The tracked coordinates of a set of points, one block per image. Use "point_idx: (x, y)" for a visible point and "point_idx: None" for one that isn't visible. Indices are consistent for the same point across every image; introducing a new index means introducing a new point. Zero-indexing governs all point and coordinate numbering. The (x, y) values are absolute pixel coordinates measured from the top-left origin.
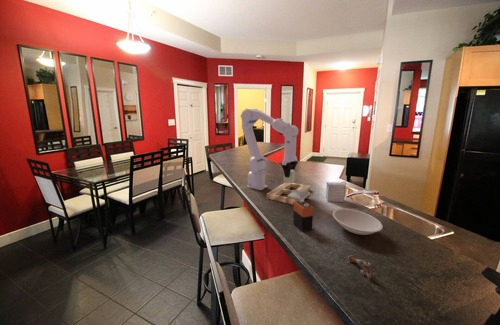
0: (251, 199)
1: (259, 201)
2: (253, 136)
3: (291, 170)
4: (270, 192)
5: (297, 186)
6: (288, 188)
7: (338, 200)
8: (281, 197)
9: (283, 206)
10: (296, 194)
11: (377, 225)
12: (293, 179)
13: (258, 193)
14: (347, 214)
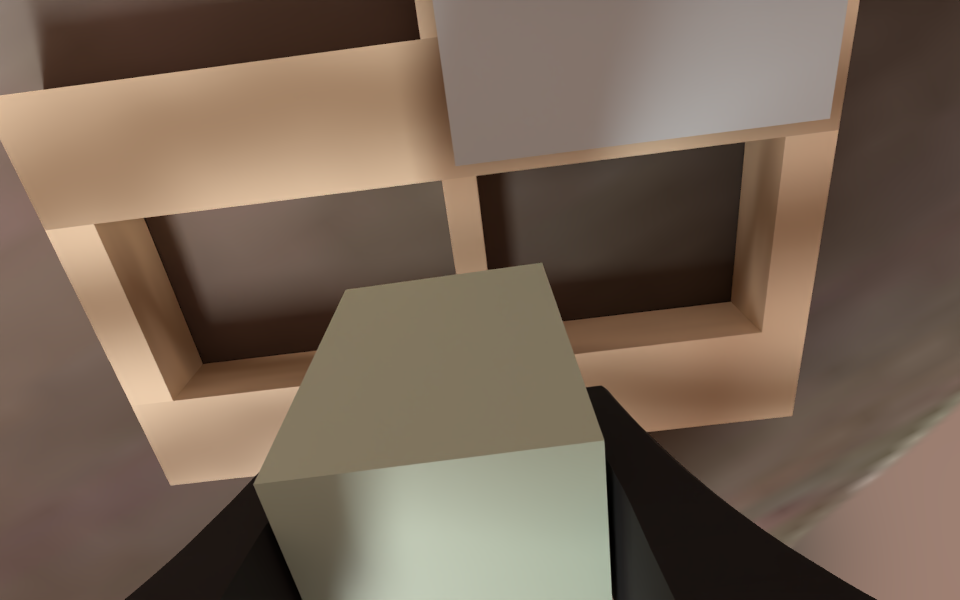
0: (865, 465)
1: (886, 381)
2: None
3: (444, 531)
4: (720, 407)
5: (149, 291)
6: (293, 359)
7: None
8: (822, 199)
9: (931, 68)
10: (703, 8)
11: None
12: (435, 303)
13: None
14: None
